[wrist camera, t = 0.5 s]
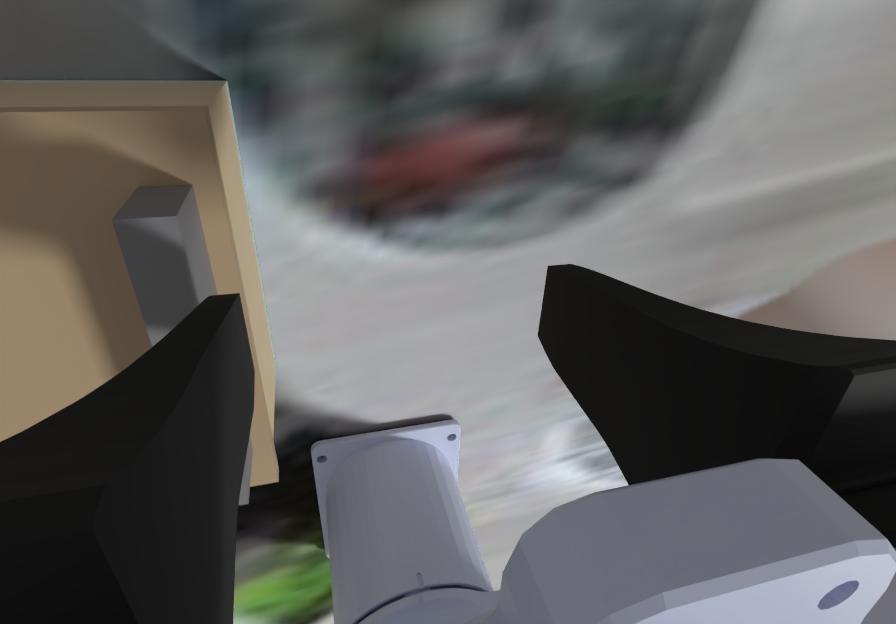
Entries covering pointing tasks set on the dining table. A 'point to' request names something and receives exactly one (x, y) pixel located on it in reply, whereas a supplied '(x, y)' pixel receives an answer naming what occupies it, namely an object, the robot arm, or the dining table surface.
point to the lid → (109, 253)
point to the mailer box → (229, 160)
